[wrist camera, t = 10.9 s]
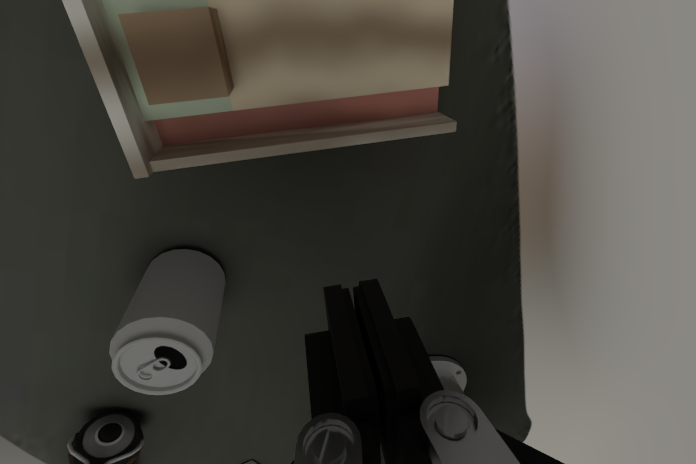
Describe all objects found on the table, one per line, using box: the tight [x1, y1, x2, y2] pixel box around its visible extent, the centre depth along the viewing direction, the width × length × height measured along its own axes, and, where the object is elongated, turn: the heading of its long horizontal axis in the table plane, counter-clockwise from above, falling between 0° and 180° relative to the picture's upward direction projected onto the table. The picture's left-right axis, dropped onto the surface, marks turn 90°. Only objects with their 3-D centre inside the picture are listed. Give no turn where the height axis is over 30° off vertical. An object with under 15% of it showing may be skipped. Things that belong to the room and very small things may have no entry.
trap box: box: [62, 0, 457, 179], centre depth 26 cm, size 15×25×6 cm, turn 95°
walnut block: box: [118, 7, 234, 105], centre depth 24 cm, size 5×5×4 cm
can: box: [109, 249, 226, 395], centre depth 32 cm, size 8×8×12 cm
